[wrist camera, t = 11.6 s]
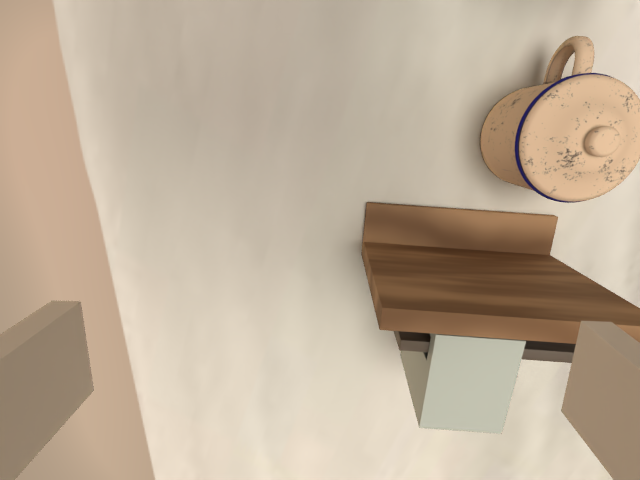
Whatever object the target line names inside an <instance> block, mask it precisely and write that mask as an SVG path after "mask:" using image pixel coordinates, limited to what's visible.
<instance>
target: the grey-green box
mask: <svg viewBox="0 0 640 480" xmlns="http://www.w3.org/2000/svg"><path fill="white" fill-rule="evenodd" d="M429 334H430V336H431V339H430V345H429V351H428V352H415V351H401V359H402V363H403V367H404V371H405V375H406V379H407V382H408V386H409V390H410V394H411V398H412V402H413V406H414V409H415V413H416V417H417V421H418V425H419V428H428V429H442V430H455V431H469V432H483V433H496V434H502V431H503V427H504V423H505V420H506V416H507V412H508V408H509V404H510V401H511V397H512V393H513V389H514V385H515V382H516V378H517V374H518V370H519V366H520V363H521V359H522V355H523V351H524V347H525V344H526V341H525V340H515V339H501V338H487V337H474V336H460V335H446V334H432V333H429Z"/></svg>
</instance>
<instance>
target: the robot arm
mask: <svg viewBox="0 0 640 480" xmlns="http://www.w3.org/2000/svg"><path fill="white" fill-rule="evenodd" d="M93 391H94V388H93V381H92V374H91V367H90V361H89V354H88V347H87V341H86V334H85V327H84V321H83V314H82V307H81V302H78V301H51V302H50V303H48V304H46V305H45V306H43V307H42V308H40V309H39V310H37V311H36V312H34V313H32V314H31V315H29V316H28V317H26V318H25V319H23V320H22V321H20V322H19V323H17V324H16V325H14V326H12V327H11V328H9V329H8V330H6V331H5V332H3V333H2V334H0V480H15V479H16V478H17V477H18V475H19V474H20V473H21V472H22V471H23V470H24V469H25V468H26V466H27V465H28V464H29V463H30V462H31V461H32V459H34V457H35V456H36V455H37V454H38V453H39V452H40V451H41V450H42V448H43V447H44V446H45V445H46V444H47V443H48V442H49V441H50V439H51V438H52V437H53V436H54V435H55V434H56V433H57V431H58V430H59V429H60V428H61V427H62V426H63V425H64V423H65V422H66V421H67V420H68V419H69V418H70V417H71V415H72V414H73V413H74V412H75V411H76V410H77V408H79V407H80V405H81V404H82V403H83V402H84V401H85V400H86V399H87V397H88V396H89V395H90V394H91V393H92V392H93ZM561 411H562V413H563V414H564V415H565V417H566V418H567V419H568V421H569V422H570V423H571V424H572V426H573V427H574V428H575V430H576V431H577V432H578V434H579V435H580V436H581V438H582V439H583V440H584V441H585V443H586V444H587V445H588V447H589V448H590V449H591V451H592V452H593V453H594V454H595V456H596V457H597V458H598V460H599V461H600V462H601V464H602V465H603V466H604V468H605V469H606V470H607V471H608V473H609V474H610V475H611V477H612V478H613V479H614V480H640V343H639V342H638V341H636V340H635V339H634V338H632V337H631V336H630V335H628V334H627V333H626V332H624V331H623V330H622V329H620V328H619V327H618V326H616V325H615V324H614V323H612V322H602V321H581V324H580V328H579V333H578V337H577V342H576V346H575V351H574V355H573V360H572V364H571V369H570V373H569V378H568V382H567V387H566V391H565V396H564V400H563V405H562V409H561Z"/></svg>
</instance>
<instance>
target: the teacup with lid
mask: <svg viewBox="0 0 640 480" xmlns="http://www.w3.org/2000/svg"><path fill="white" fill-rule="evenodd" d="M574 52H575V61H574V67H573V71H572V76H569V77H566V78H563V79H561V76H562V73H563V70H564V67H565V65H566V63H567V61H568V59H569V58H570V56H571V55H572V54H573V53H574ZM593 61H594V47H593V43H592V41H591V40H590V39H589V38H588V37H585V36H574V37H571V38H569V39H567V40H566V41H565V42H563V43H562V44H561V45H560V46H559V48H558V49H557V50H556V52H555V53H554V55H553V56H552V58H551V60H550V62H549V65H548V68H547V71H546V75H545V79H544V83H543V85H538V86H533V87H528V88H523V89H520V90H517V91H514V92H512V93H511V94H509V95H507V96H506V97H504V98H503V99H502V100H500V101H499V102H498V103H497V104H496V105H495V106H494V107H493V109H492V110H491V111H490V113H489V114H488V116H487V118H486V120H485V122H484V125H483V128H482V132H481V151H482V155H483V158H484V161H485V163H486V164H487V166H488V167H489V169H490V170H491V171H492V172H493V173H494V174H495V175H496V176H497V177H499V178H500V179H502V180H504V181H506V182H509V183H512V184H515V185H518V186H521V187H525V188H528V189H531V190H534V191H536V192H537V193H538V194H540V195H542V196H544V197H546V198H548V199H551V200H554V201H559V202H581V201H586V200H589V199H593V198H596V197H599V196H601V195H603V194H605V193H607V192H609V191H610V190H612V189H613V188H615V187H616V186H617V185H619V184H620V183H621V182H622V181H623V180H624V179H625V178H626V177H627V176H628V175H629V174H630V173H631V172H632V170H633V169H634V168H635V166H636V164H637V163H638V161H639V159H640V100H639V98H638V97H637V95H636V94H635V93H634V92H633V90H632V89H631V88H629V87H628V86H627V85H626V84H624V83H623V82H621V81H619V80H617V79H615V78H613V77H610V76H607V75H603V74H597V73H591V71H592V67H593Z"/></svg>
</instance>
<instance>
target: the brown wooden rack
mask: <svg viewBox="0 0 640 480" xmlns="http://www.w3.org/2000/svg"><path fill="white" fill-rule="evenodd" d="M557 220H558V217H557V216H554V215H541V214H527V213H513V212H499V211H485V210H470V209H456V208H442V207H428V206H414V205H399V204H385V203H371V202H367V204H366V214H365V224H364V234H363V245H362V258H363V262H364V266H365V270H366V275H367V279H368V283H369V287H370V291H371V295H372V300H373V304H374V308H375V312H376V316H377V320H378V324H379V329H380V330H390V331H394V333H395V337H396V340H397V343H398V346H399V350H401V351H415V352H428V351H429V345H430V339H431V336H430V334H429V333H432V334H446V335H460V336H474V337H487V338H501V339H515V340H525V341H526V344H525V347H524V351H523V355H522V359H526V360H540V361H553V362H567V363H572V360H573V355H574V351H575V346H576V342H577V337H578V333H579V328H580V324H581V321H602V322H612V323H614V324H615V325H616V326H618V327H619V328H620V329H622V330H623V331H624V332H626V333H627V334H628V335H630V336H631V337H632V338H634V339H635V340H636V341H638V342H639V343H640V308H638V307H636V306H635V305H633V304H631V303H630V302H628V301H626V300H625V299H623V298H621V297H620V296H618V295H616V294H615V293H613V292H611V291H609V290H608V289H606V288H604V287H603V286H601V285H599V284H598V283H596V282H594V281H593V280H591V279H589V278H588V277H586V276H584V275H582V274H581V273H579V272H577V271H576V270H574V269H572V268H571V267H569V266H567V265H566V264H564V263H562V262H561V261H559V260H557V259H555V258H554V257H552V256H550V251H551V247H552V242H553V238H554V233H555V229H556V224H557Z"/></svg>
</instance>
